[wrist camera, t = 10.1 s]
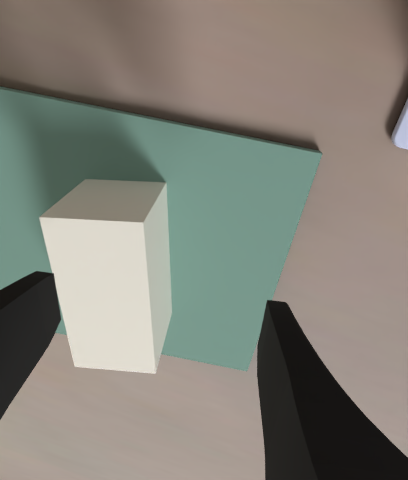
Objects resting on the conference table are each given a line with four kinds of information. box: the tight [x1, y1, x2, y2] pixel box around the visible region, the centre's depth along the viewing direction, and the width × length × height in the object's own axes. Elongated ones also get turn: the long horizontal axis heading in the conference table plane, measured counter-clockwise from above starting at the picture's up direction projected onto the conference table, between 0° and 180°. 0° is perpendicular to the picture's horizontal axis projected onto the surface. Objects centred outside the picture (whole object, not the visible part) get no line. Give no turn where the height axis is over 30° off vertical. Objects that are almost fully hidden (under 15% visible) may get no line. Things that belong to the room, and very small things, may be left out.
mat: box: [0, 86, 322, 371], centre depth 21 cm, size 18×16×1 cm
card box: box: [39, 179, 172, 374], centre depth 19 cm, size 9×4×5 cm, turn 0°
